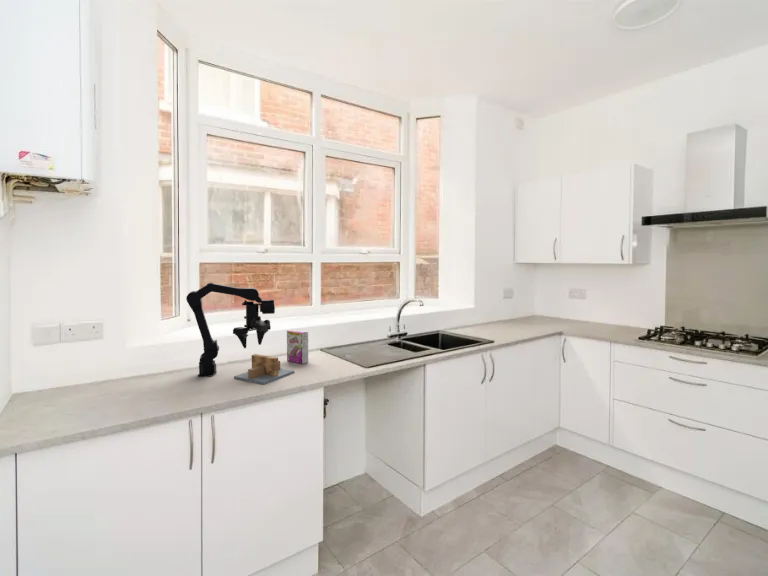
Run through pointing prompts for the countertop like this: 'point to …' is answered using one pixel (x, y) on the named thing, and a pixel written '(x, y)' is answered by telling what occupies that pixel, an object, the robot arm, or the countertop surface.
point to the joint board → (262, 375)
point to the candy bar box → (297, 346)
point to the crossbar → (266, 363)
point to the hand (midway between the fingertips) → (252, 346)
